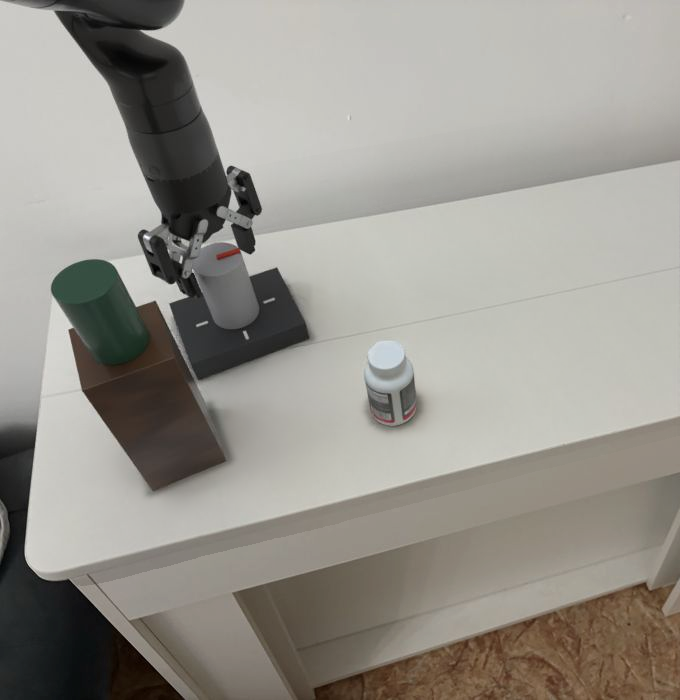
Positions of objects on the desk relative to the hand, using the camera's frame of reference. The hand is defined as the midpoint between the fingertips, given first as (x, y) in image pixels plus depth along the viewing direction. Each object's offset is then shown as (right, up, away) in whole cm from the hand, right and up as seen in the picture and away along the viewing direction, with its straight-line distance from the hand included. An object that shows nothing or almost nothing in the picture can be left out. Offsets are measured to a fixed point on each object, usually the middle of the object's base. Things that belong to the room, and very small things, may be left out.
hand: (221, 272), depth 82 cm
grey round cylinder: (0, -4, +5) cm, 7 cm away
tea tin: (-3, -8, -17) cm, 20 cm away
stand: (-3, -20, -4) cm, 20 cm away
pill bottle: (+20, -16, 0) cm, 25 cm away
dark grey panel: (0, -6, +8) cm, 10 cm away
